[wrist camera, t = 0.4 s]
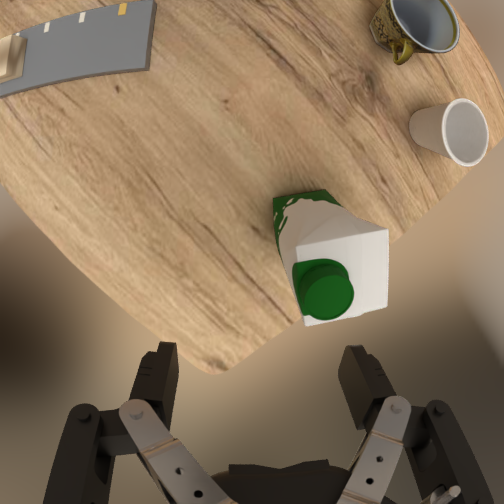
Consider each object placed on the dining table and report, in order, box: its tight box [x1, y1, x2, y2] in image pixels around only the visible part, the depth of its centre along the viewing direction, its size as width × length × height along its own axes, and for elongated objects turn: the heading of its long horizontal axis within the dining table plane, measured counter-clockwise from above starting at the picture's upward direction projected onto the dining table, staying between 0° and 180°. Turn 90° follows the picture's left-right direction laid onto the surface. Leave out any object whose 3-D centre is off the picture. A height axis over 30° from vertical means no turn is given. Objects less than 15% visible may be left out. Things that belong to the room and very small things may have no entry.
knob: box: [0, 34, 27, 83], centre depth 25 cm, size 6×5×4 cm
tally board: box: [0, 0, 157, 98], centre depth 29 cm, size 10×26×2 cm, turn 86°
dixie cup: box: [409, 98, 489, 167], centre depth 32 cm, size 8×8×10 cm
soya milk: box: [273, 190, 389, 326], centre depth 32 cm, size 9×9×20 cm
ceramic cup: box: [369, 0, 460, 65], centre depth 27 cm, size 13×10×10 cm
